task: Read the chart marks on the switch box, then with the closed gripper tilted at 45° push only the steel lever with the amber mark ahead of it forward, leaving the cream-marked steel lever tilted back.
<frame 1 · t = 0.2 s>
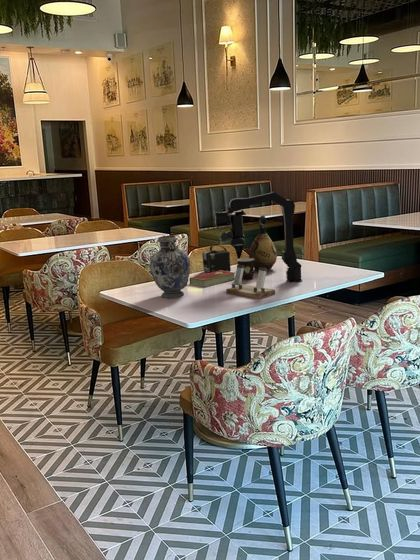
hand: (239, 256, 259), 14 cm above the table, tool pointing down, fingers open, 9 cm apart
switch box: (248, 294, 242), on the table
lever a: (261, 278, 236), point 8 cm above the table, hinge at -20.0°
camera: (216, 271, 300), on the table
hardcover book: (213, 282, 274), on the table
coffee mug: (249, 279, 274), on the table
decorative vase: (172, 295, 250), on the table
lever b: (239, 275, 246), point 8 cm above the table, hinge at -20.0°
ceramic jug: (263, 270, 295), on the table
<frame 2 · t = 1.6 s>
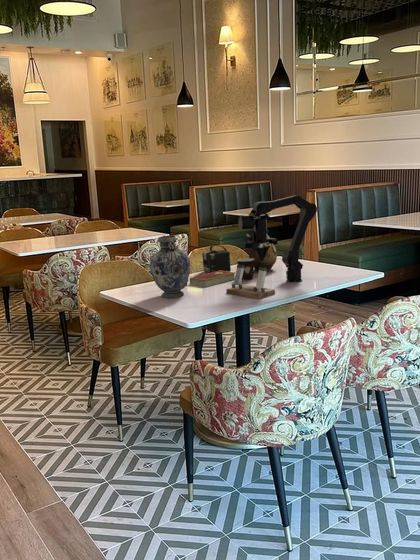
hand: (261, 261, 256), 12 cm above the table, tool pointing down, fingers closed
nothing on the table moved.
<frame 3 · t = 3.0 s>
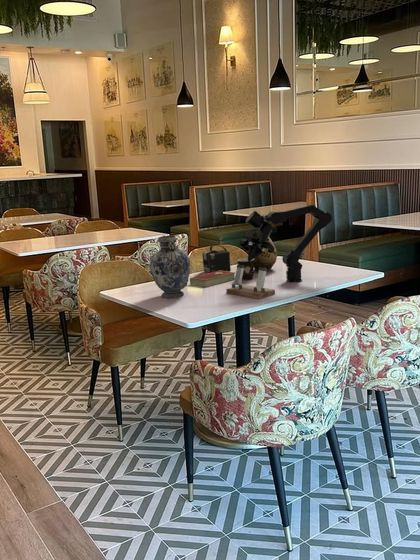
hand: (248, 260, 250), 14 cm above the table, tool tilted 45°, fingers closed
nothing on the table moved.
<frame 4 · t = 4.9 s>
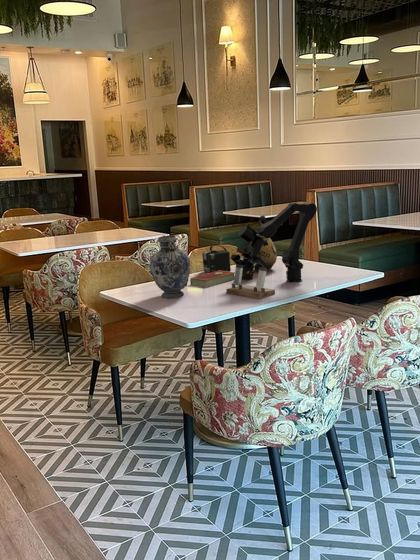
hand: (239, 275, 247), 7 cm above the table, tool tilted 45°, fingers closed, pressing on lever b
lever b: (238, 274, 246), point 8 cm above the table, hinge at -15.5°, touching gripper
everything else where it was.
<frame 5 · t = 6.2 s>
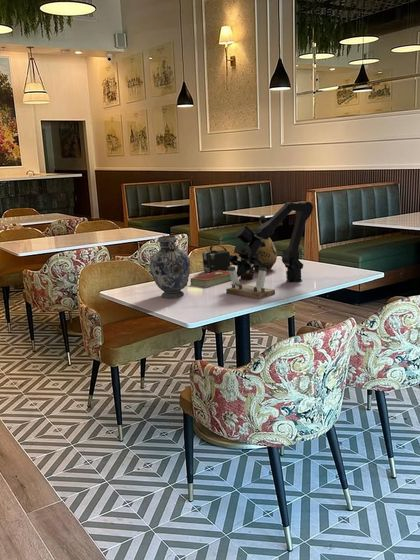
hand: (237, 276, 245), 7 cm above the table, tool tilted 45°, fingers closed
lever b: (233, 276, 244), point 8 cm above the table, hinge at 17.6°
everything else where it was.
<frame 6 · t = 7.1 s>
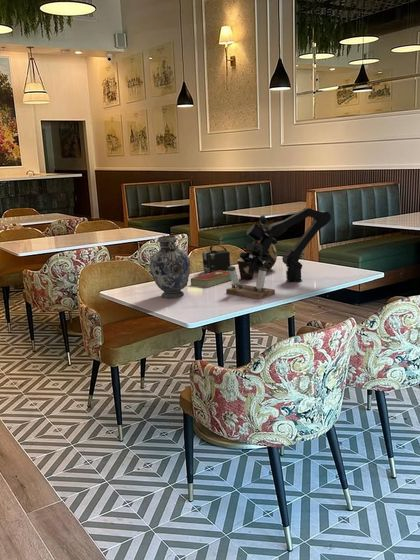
hand: (249, 273, 251), 7 cm above the table, tool tilted 45°, fingers closed
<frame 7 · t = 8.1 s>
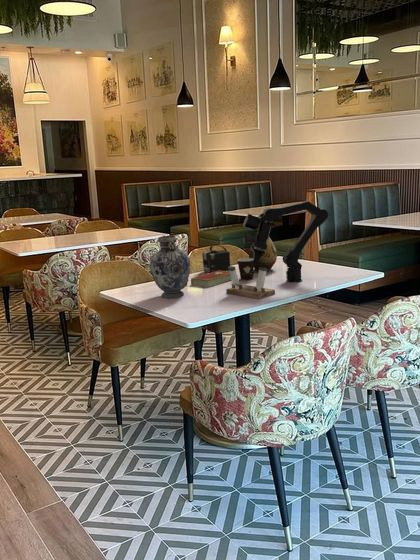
hand: (254, 264, 255), 11 cm above the table, tool tilted 25°, fingers closed
nothing on the table moved.
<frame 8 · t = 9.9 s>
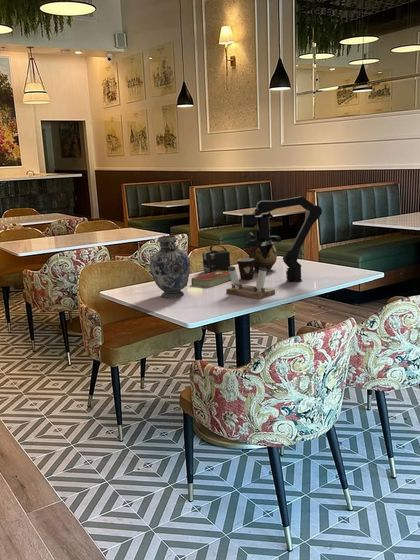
hand: (265, 258, 260), 12 cm above the table, tool pointing down, fingers closed
at the end: lever b at +18° (first picture: -20°); lever a at -20° (first picture: -20°) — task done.
